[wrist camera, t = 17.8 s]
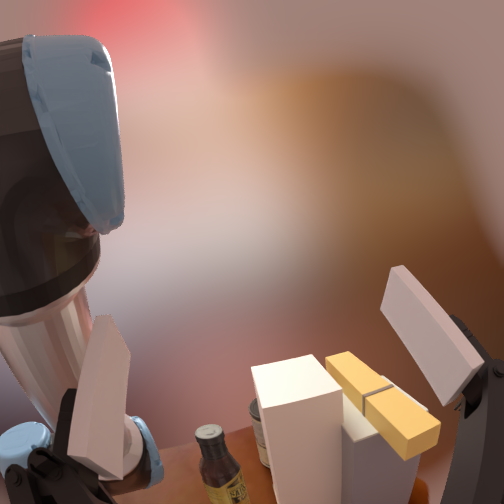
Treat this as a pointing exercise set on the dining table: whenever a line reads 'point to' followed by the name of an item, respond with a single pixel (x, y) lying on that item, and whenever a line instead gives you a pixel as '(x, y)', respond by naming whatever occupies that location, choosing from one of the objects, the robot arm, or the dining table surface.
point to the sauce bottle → (220, 468)
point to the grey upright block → (373, 462)
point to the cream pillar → (301, 429)
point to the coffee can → (259, 432)
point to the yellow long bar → (384, 406)
